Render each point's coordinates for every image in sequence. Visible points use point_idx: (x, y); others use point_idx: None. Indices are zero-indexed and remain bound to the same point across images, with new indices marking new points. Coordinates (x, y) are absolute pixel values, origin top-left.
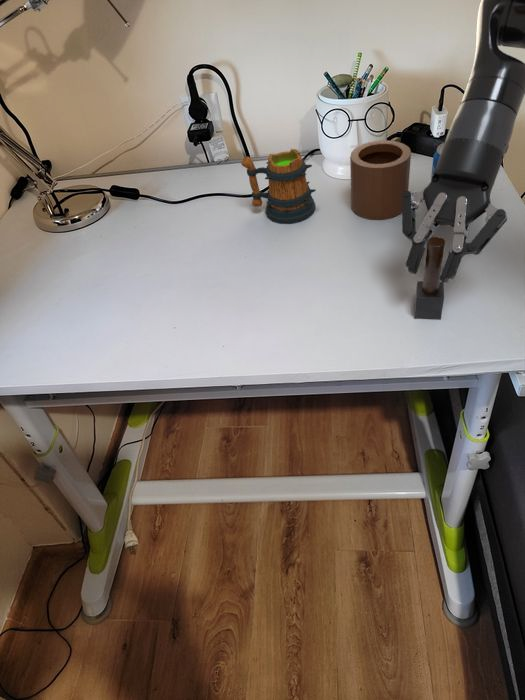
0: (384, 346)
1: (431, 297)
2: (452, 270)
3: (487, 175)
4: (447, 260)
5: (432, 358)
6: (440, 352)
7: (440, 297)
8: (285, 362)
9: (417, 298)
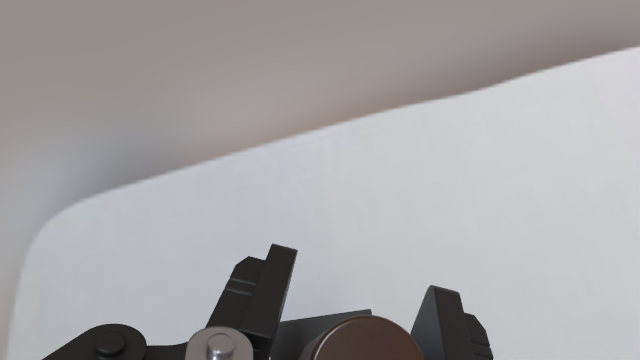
0: (413, 178)
1: (315, 319)
2: (241, 279)
3: None
4: (274, 299)
5: (275, 159)
6: (255, 186)
7: (281, 327)
8: (634, 77)
9: (366, 310)
